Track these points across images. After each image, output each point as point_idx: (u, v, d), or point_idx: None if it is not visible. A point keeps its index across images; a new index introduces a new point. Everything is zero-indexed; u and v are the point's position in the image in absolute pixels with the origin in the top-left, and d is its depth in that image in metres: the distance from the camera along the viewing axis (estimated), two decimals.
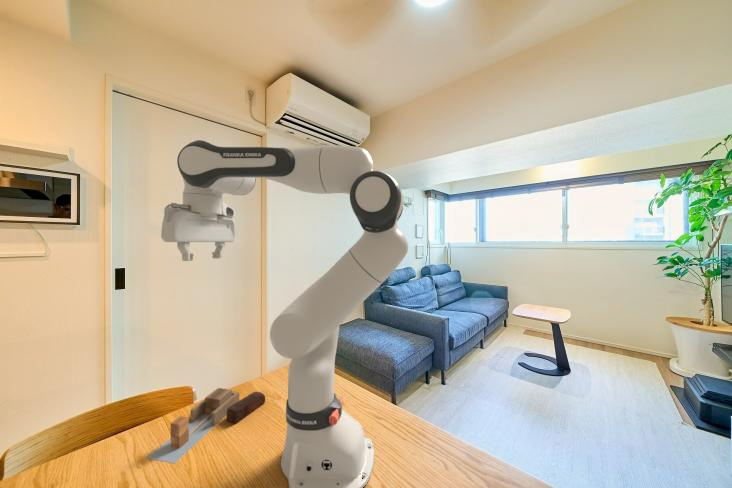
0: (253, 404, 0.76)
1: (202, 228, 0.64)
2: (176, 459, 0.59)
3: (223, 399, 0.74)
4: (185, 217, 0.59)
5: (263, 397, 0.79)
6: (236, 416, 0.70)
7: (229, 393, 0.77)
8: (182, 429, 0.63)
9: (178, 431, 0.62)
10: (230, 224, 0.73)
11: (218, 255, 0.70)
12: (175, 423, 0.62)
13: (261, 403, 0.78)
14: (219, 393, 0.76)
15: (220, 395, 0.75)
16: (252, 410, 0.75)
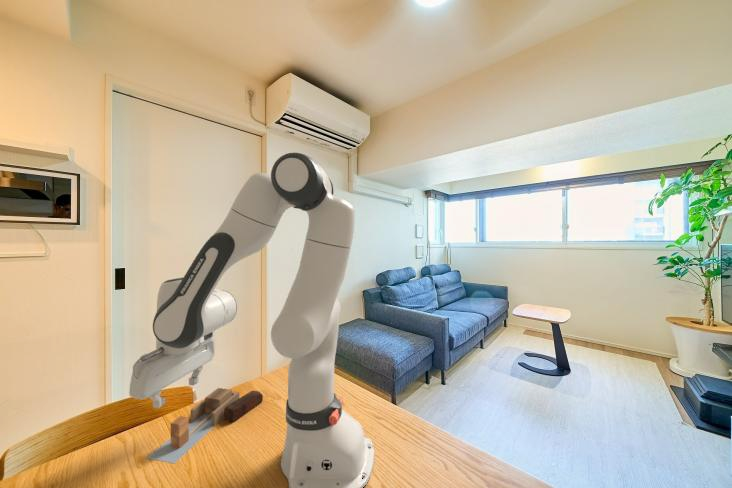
0: (251, 403, 0.76)
1: (176, 367, 0.61)
2: (176, 459, 0.59)
3: (223, 399, 0.74)
4: (156, 367, 0.56)
5: (260, 396, 0.79)
6: (233, 415, 0.71)
7: (229, 393, 0.77)
8: (182, 429, 0.63)
9: (178, 431, 0.62)
10: (209, 344, 0.70)
11: (195, 382, 0.67)
12: (175, 423, 0.62)
13: (258, 402, 0.79)
14: (219, 393, 0.76)
15: (220, 395, 0.75)
16: (249, 409, 0.76)
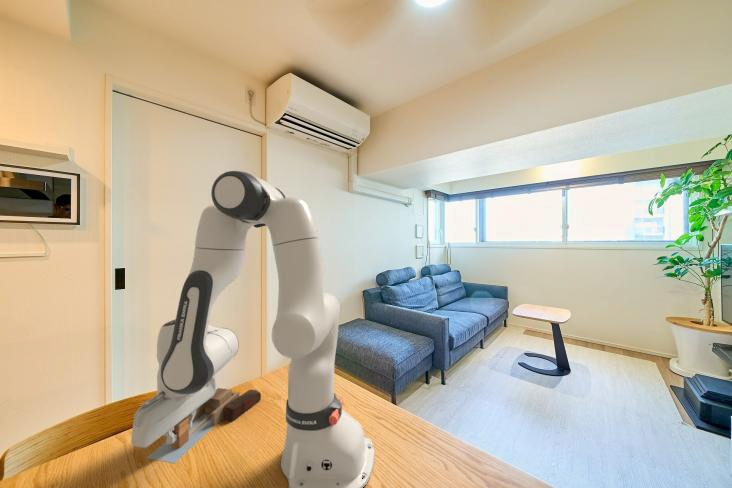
0: (250, 402, 0.77)
1: (178, 410, 0.61)
2: (176, 459, 0.59)
3: (223, 399, 0.74)
4: (157, 413, 0.56)
5: (259, 395, 0.80)
6: (233, 413, 0.71)
7: (229, 393, 0.77)
8: (182, 429, 0.63)
9: (178, 431, 0.62)
10: (210, 381, 0.70)
11: None
12: None
13: (257, 400, 0.79)
14: (219, 393, 0.76)
15: (220, 395, 0.75)
16: (248, 407, 0.76)
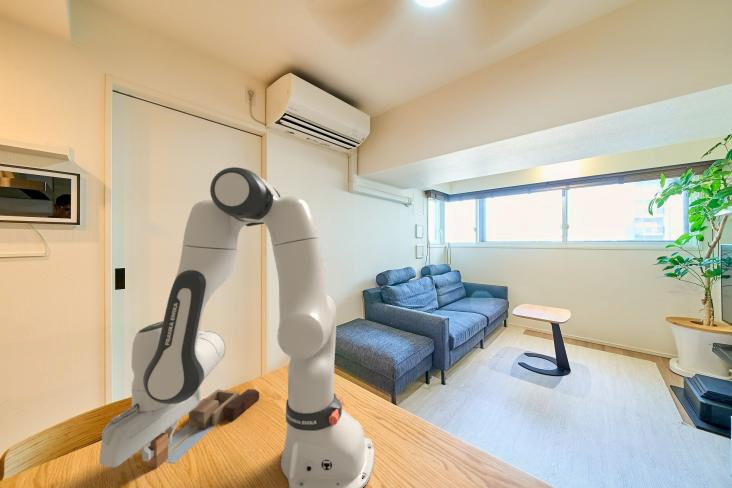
0: (249, 401, 0.77)
1: (155, 423, 0.56)
2: (176, 459, 0.59)
3: (208, 411, 0.69)
4: (129, 429, 0.51)
5: (257, 394, 0.81)
6: (234, 413, 0.72)
7: (215, 404, 0.72)
8: (160, 446, 0.57)
9: (155, 449, 0.57)
10: None
11: None
12: (152, 440, 0.57)
13: (256, 400, 0.80)
14: (204, 404, 0.71)
15: (205, 407, 0.70)
16: (248, 407, 0.77)
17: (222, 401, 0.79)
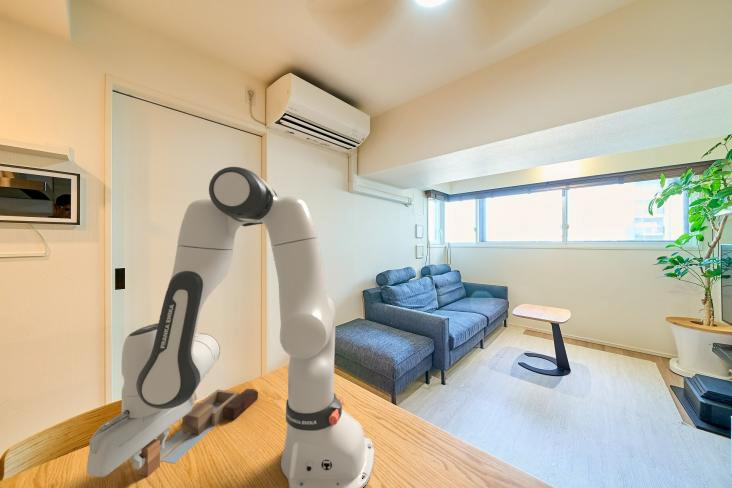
0: (248, 400, 0.77)
1: (146, 430, 0.54)
2: (176, 459, 0.59)
3: (202, 416, 0.67)
4: (119, 437, 0.49)
5: (256, 393, 0.81)
6: (234, 412, 0.72)
7: (210, 409, 0.70)
8: (152, 454, 0.55)
9: (146, 457, 0.55)
10: None
11: None
12: (143, 447, 0.55)
13: (255, 399, 0.80)
14: (198, 409, 0.69)
15: (199, 411, 0.68)
16: (247, 406, 0.77)
17: (222, 401, 0.79)
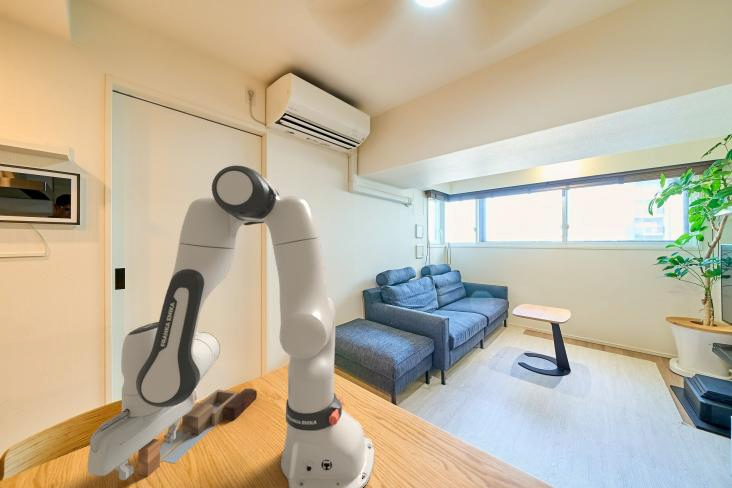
0: (248, 400, 0.78)
1: (146, 429, 0.54)
2: (176, 459, 0.59)
3: (202, 416, 0.67)
4: (119, 435, 0.49)
5: (255, 392, 0.81)
6: (235, 412, 0.72)
7: (210, 409, 0.70)
8: (151, 454, 0.55)
9: (146, 457, 0.55)
10: None
11: (171, 439, 0.60)
12: (143, 447, 0.55)
13: (254, 398, 0.81)
14: (198, 409, 0.69)
15: (199, 411, 0.68)
16: (247, 405, 0.77)
17: (222, 401, 0.79)
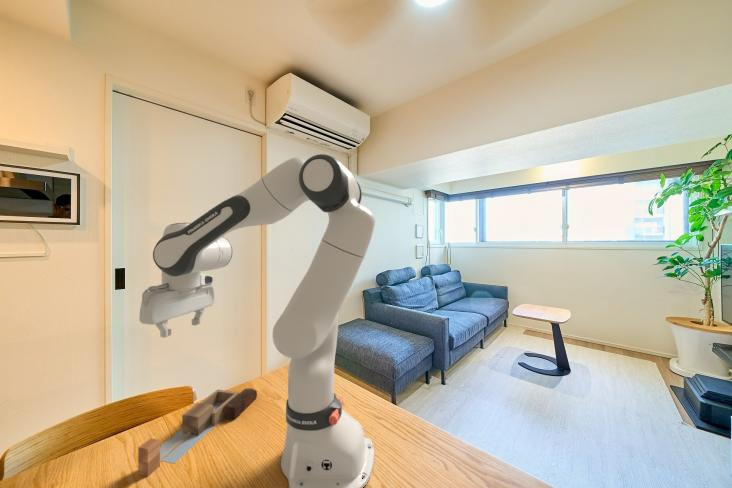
0: (248, 400, 0.78)
1: (181, 303, 0.67)
2: (176, 459, 0.59)
3: (202, 416, 0.67)
4: (162, 298, 0.62)
5: (255, 392, 0.81)
6: (235, 412, 0.72)
7: (210, 409, 0.70)
8: (151, 454, 0.55)
9: (146, 457, 0.55)
10: (209, 290, 0.77)
11: (197, 322, 0.74)
12: (143, 447, 0.55)
13: (254, 398, 0.81)
14: (198, 409, 0.69)
15: (199, 411, 0.68)
16: (247, 405, 0.77)
17: (222, 401, 0.79)
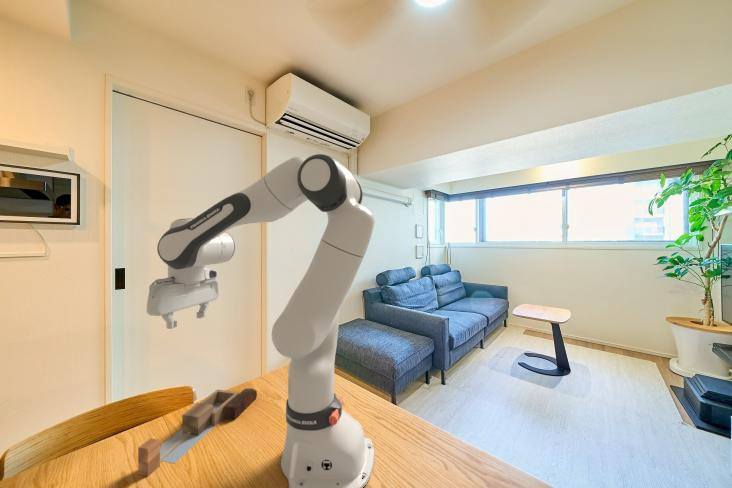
0: (248, 400, 0.78)
1: (186, 296, 0.70)
2: (176, 459, 0.59)
3: (202, 416, 0.67)
4: (168, 290, 0.65)
5: (255, 392, 0.81)
6: (235, 412, 0.72)
7: (210, 409, 0.70)
8: (151, 454, 0.55)
9: (146, 457, 0.55)
10: (213, 284, 0.79)
11: (202, 315, 0.76)
12: (143, 447, 0.55)
13: (254, 398, 0.81)
14: (198, 409, 0.69)
15: (199, 411, 0.68)
16: (247, 405, 0.77)
17: (222, 401, 0.79)
